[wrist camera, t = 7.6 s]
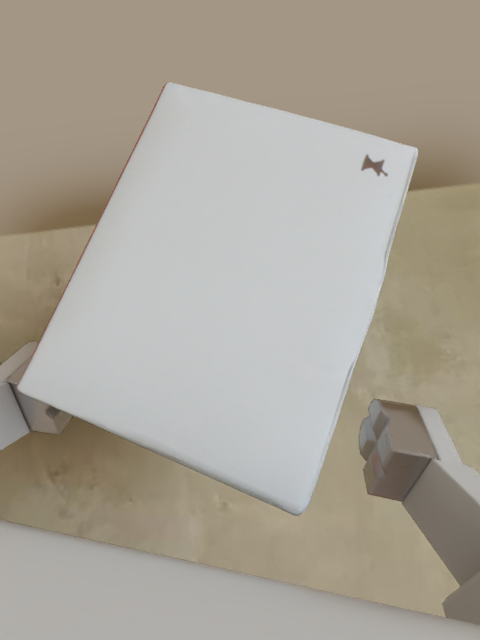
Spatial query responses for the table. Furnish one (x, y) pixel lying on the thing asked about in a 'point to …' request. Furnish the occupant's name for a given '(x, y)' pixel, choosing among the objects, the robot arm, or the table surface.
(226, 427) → the small box
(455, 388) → the table surface
